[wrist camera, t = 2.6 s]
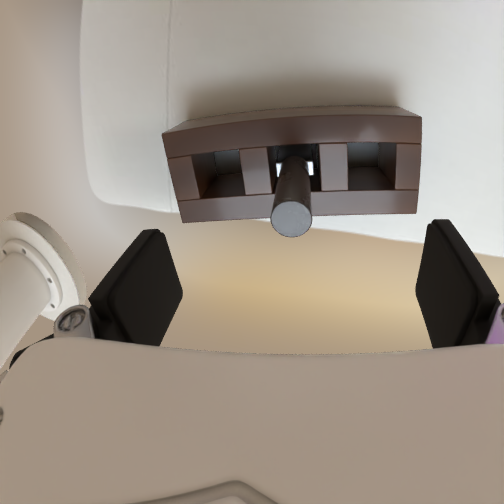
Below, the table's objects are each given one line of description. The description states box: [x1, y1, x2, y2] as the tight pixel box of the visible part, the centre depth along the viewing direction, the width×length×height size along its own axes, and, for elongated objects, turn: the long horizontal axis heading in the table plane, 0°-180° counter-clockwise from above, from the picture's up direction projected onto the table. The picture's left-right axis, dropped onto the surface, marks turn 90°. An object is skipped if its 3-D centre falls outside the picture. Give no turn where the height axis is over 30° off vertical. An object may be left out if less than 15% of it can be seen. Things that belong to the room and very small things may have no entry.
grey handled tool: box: [270, 144, 314, 237], centre depth 18 cm, size 2×2×12 cm
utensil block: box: [162, 106, 422, 223], centre depth 21 cm, size 7×17×5 cm, turn 98°
